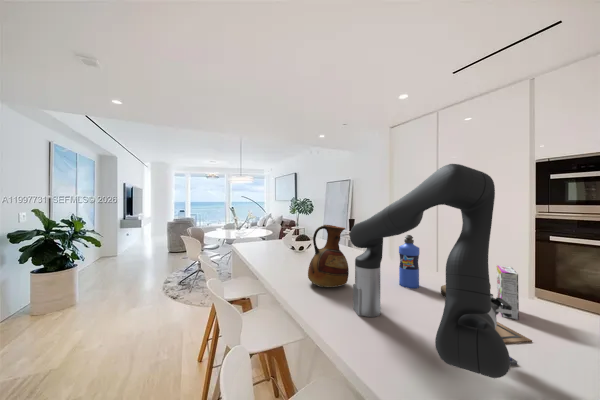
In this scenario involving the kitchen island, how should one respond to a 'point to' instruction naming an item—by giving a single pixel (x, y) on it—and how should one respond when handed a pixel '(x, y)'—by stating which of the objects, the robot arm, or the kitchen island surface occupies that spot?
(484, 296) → the robot arm
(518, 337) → the marked board
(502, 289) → the candy bar box
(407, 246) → the water bottle
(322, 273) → the ceramic pitcher
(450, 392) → the kitchen island surface
